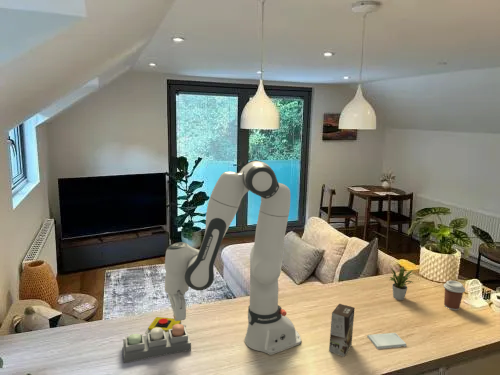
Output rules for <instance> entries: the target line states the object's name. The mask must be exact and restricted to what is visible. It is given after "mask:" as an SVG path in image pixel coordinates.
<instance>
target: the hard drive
mask: <svg viewBox="0 0 500 375" xmlns="http://www.w3.org/2000/svg"><path fill="white" fill-rule="evenodd" d="M366 337H367V339H368V340H369V341H370V342H371V344H372V345H373V346H374V347H375V348H376V349H377V350H379V349H382V350H383V349H390V348H391V349H392V347H393V348H402V347H401V346H404V347H407V343H406V342H405V341H404V339H402V338H401V337H400V336H399V334H398V333H397V332H389V333H377V334H368V335H366Z"/></svg>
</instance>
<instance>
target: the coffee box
mask: <svg viewBox="0 0 500 375" xmlns="http://www.w3.org/2000/svg"><path fill="white" fill-rule="evenodd" d="M354 318H355V307H353V306H352V305H346V304H342V303H338V305H336V307H335V308H334V309H333V310H332V312H331V318H330V319H331V321H330V333H329V344H328V345H329V349H328V352H331V353H333V354H335V355H338V356H341V357H345V356H346V355H347V353H348V351H349V350H350V348H351V346H352V345H353V344H352V343H353V333H354V332H353V331H354V330H353V329H354Z"/></svg>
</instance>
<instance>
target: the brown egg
mask: <svg viewBox="0 0 500 375" xmlns="http://www.w3.org/2000/svg"><path fill="white" fill-rule="evenodd" d="M183 325H184V324H182V323H181V324H176V325H174V326H173V327H172V335H173V337H178V336H183V335H184V326H183Z"/></svg>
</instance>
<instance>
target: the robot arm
mask: <svg viewBox="0 0 500 375" xmlns="http://www.w3.org/2000/svg"><path fill="white" fill-rule="evenodd" d="M278 181H279V180H278V179H277V176H276V173H275V171H274V170H273V169H272V168H271V166H270V165H269V164H268V163H266V162H265V161H264V162H263V161H261V160H257V159H253V160H250V161H248V162H247V163H245V164H244V165H243V166H242V167H240V168H239V169H238V170H237V172H235V171H224V172H223V173H222V174H221V175H220V176H219V177H218V179H217V181H216V183H215V185H214V187H213V189H212V192H211V194H210V197H209V199H208V202H207V207H206V212H205V213H206V214H205V227H204V228H205V230H204V236H203V239H202V242H201V244H200V248H199V249H198V248H195V247H193V246H190V245H189V244H188V243H187V242H182V241H179V242H175V243H172V244H170V245H169V246H168V247H167V248H166V251H165V258H164V269H165V276H164V292H165V293H167V296H168V301H169V302H170V305H171V306H170V307H171V309H172V313H173V319H174V320H175V321H180V320H181V321H184V320H186V318H187V303H186V298H185V294H186V293H187V292H188V291H189V288H191V289H192V290H195V291H204V290H206V289H207V290H208V289H209V287H211V286H212V285H213V283H214V280H215V275H214V268H215V267H214V266H215V262H216V259H217V256H218V252H219V250H220V246H222V245H221V244H222V242H223V239H224V237H225V235H226V233H227V231H228V230H229V227H230V226H231V224H232V222H233V221H234V219H235V216H236V215H237V212H238V210H239V208H240V205H241V202H242V199H243V197H244V196H245V195H246V194H247V193H248V192H251V193H253V194H254V195H256V196H259V197H260V205H259V210H258V216H257V221H256V228H255V236H254V243H253V246H252V247H251V249H250V254H249V306H248V310H247V321H248V322H247V323H248V324H247V329H246V334H245V336H244V343H245V344H246V346H247V347H249V349H252V350H255V351H258V352H262V353H265V354H267V355H270V356H271V355H275V354H276V353H280V352H283V351H285V350H287V349H291V348H293V347H295V346H298V345H301V344H302V338H301V335H300V334H299V332H298V331H297V329H296V328H295V325H294V323H293V322H292V321H291V319H290V318H288V316H287V311H286V309H282V307H281V305H279V278H280V276H281V272H282V265H283V257H284V250H285V239H286V238H285V237H286V233H287V232H286V231H287V226H288V220H289V215H290V211H291V210H290V209H291V189H290V188H289V187H288V185H286V184H284V183H280V182H278Z"/></svg>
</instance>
